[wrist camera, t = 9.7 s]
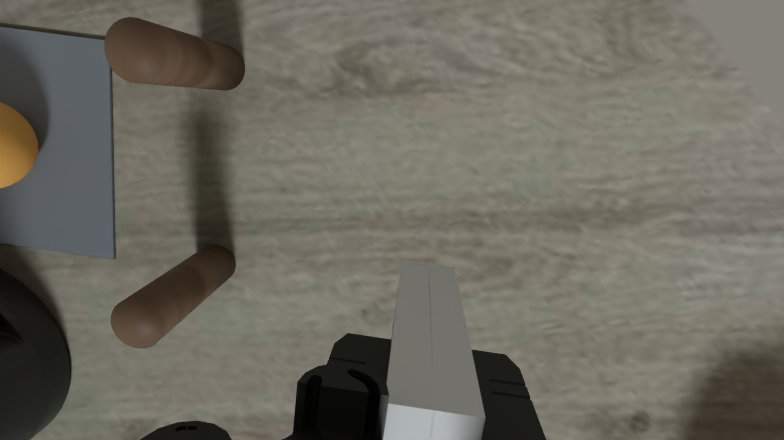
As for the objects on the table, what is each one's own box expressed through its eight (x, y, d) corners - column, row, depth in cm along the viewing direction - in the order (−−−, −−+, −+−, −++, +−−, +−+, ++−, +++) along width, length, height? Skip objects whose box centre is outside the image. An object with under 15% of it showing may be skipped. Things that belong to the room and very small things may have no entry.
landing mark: (-83, 230, 32) (-86, 230, 32) (-110, 12, 29) (-114, 11, 28) (115, 258, 32) (113, 259, 31) (111, 41, 28) (108, 40, 28)
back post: (197, 278, 32) (111, 344, 23) (198, 242, 31) (110, 295, 22) (234, 283, 31) (162, 351, 23) (236, 247, 31) (163, 303, 22)
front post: (202, 87, 28) (104, 79, 20) (203, 42, 28) (103, 13, 19) (243, 92, 28) (164, 86, 20) (245, 48, 28) (165, 21, 19)
